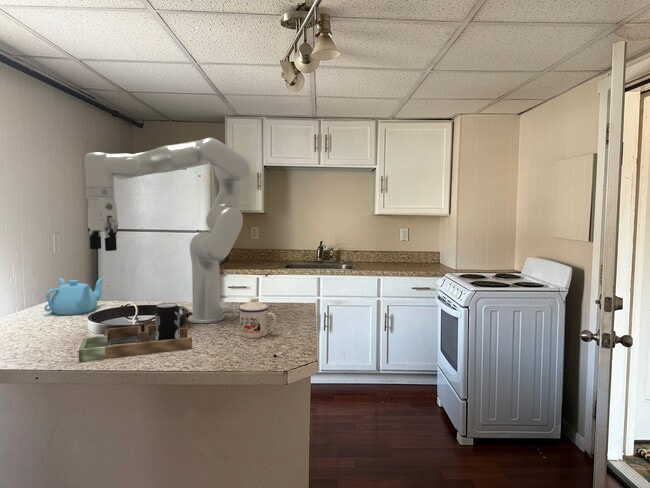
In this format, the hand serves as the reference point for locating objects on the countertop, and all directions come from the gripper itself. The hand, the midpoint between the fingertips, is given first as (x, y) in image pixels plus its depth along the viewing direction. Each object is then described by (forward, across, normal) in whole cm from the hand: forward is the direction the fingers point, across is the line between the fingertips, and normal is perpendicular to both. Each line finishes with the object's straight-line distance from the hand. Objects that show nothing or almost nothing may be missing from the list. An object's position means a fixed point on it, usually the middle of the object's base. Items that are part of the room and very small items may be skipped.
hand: (103, 249), depth 129 cm
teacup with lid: (+28, -36, -30) cm, 55 cm away
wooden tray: (+27, -16, -1) cm, 31 cm away
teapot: (+27, +42, -9) cm, 51 cm away
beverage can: (+27, -23, -6) cm, 36 cm away
